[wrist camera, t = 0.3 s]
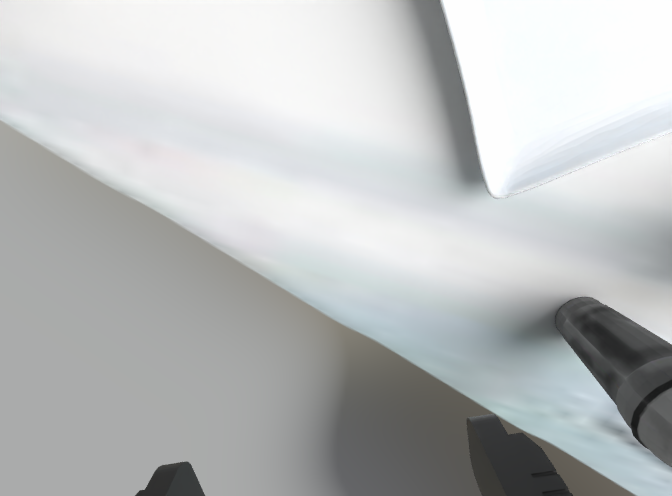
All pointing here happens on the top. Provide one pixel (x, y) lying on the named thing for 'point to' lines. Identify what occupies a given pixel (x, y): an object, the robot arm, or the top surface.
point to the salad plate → (560, 82)
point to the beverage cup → (625, 368)
